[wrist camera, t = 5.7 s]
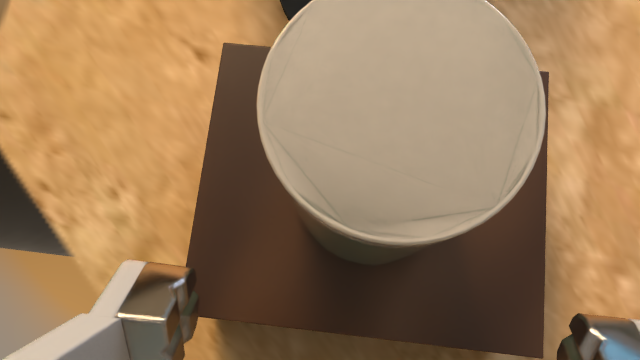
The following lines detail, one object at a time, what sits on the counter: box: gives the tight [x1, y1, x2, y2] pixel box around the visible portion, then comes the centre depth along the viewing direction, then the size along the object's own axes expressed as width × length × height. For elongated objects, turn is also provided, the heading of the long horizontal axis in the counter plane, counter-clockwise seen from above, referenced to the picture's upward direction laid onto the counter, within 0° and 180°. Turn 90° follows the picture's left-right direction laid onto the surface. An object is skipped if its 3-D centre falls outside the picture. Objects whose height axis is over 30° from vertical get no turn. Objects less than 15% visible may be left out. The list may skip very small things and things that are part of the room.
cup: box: [256, 0, 546, 265], centre depth 16 cm, size 6×6×10 cm
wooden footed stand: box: [186, 43, 549, 358], centre depth 24 cm, size 14×12×6 cm
